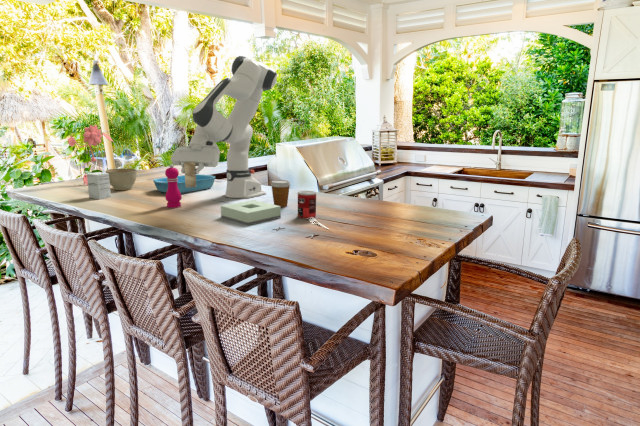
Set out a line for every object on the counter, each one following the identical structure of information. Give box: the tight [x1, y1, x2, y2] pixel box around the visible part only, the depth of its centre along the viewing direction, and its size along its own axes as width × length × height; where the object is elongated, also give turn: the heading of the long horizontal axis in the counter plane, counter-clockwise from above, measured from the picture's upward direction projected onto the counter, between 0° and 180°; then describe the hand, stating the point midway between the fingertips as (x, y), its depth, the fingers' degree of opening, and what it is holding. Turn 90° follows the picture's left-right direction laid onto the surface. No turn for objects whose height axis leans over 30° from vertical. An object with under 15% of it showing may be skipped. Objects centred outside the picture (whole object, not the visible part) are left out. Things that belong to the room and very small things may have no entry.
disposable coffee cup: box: [270, 179, 291, 208], centre depth 207 cm, size 10×10×12 cm
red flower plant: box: [67, 124, 114, 187], centre depth 252 cm, size 15×26×35 cm, turn 152°
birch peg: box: [184, 162, 197, 188], centre depth 178 cm, size 4×4×10 cm
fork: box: [308, 217, 329, 229], centre depth 172 cm, size 3×20×2 cm, turn 27°
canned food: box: [297, 190, 317, 219], centre depth 186 cm, size 8×8×11 cm
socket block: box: [220, 199, 282, 226], centre depth 184 cm, size 18×18×5 cm
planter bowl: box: [105, 168, 138, 191], centre depth 242 cm, size 16×16×11 cm
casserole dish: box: [152, 173, 216, 194], centre depth 245 cm, size 37×22×7 cm, turn 148°
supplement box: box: [86, 171, 111, 200], centre depth 218 cm, size 7×7×13 cm
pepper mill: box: [164, 163, 182, 209], centre depth 201 cm, size 7×7×20 cm
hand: (189, 172), depth 177 cm, fingers closed on birch peg, 4 cm apart
